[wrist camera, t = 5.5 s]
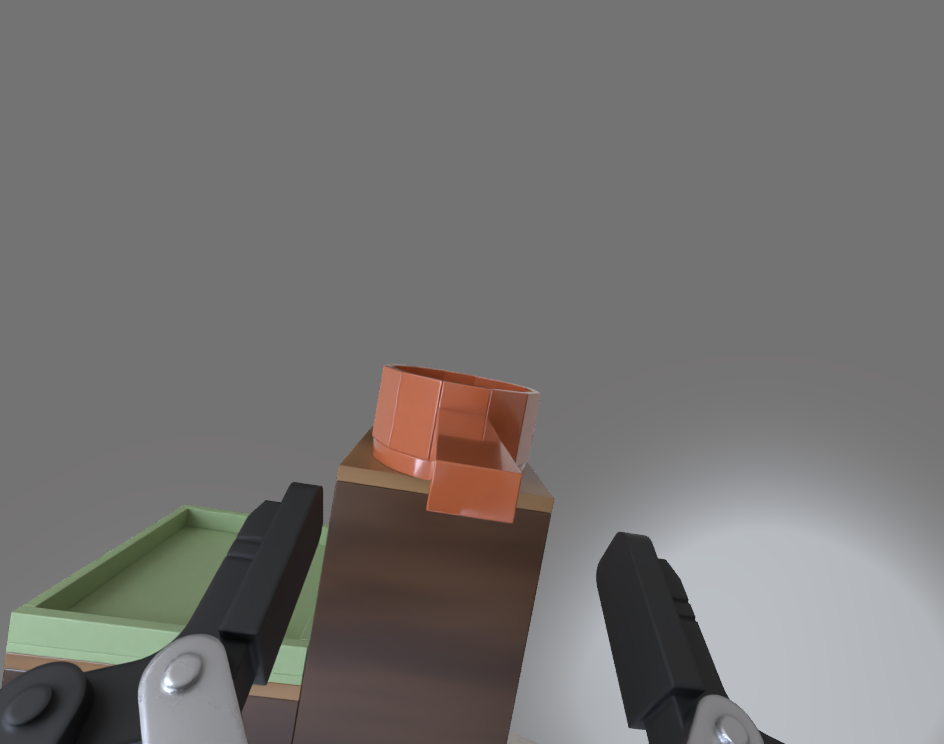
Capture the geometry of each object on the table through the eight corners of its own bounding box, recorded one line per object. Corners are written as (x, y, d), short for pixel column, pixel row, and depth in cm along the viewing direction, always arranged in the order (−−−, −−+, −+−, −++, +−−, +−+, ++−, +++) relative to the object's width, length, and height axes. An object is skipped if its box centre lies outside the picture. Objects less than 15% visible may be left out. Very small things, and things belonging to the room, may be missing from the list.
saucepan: (613, 621, 12) (649, 446, 12) (285, 578, 11) (315, 390, 11) (509, 453, 30) (522, 383, 30) (382, 432, 30) (394, 361, 29)
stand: (448, 1046, 24) (554, 498, 22) (-44, 1021, 22) (36, 417, 20) (446, 785, 37) (510, 438, 36) (147, 755, 35) (202, 387, 34)
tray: (301, 686, 22) (307, 648, 22) (5, 652, 21) (10, 612, 20) (356, 552, 36) (360, 529, 36) (181, 528, 35) (185, 504, 34)
